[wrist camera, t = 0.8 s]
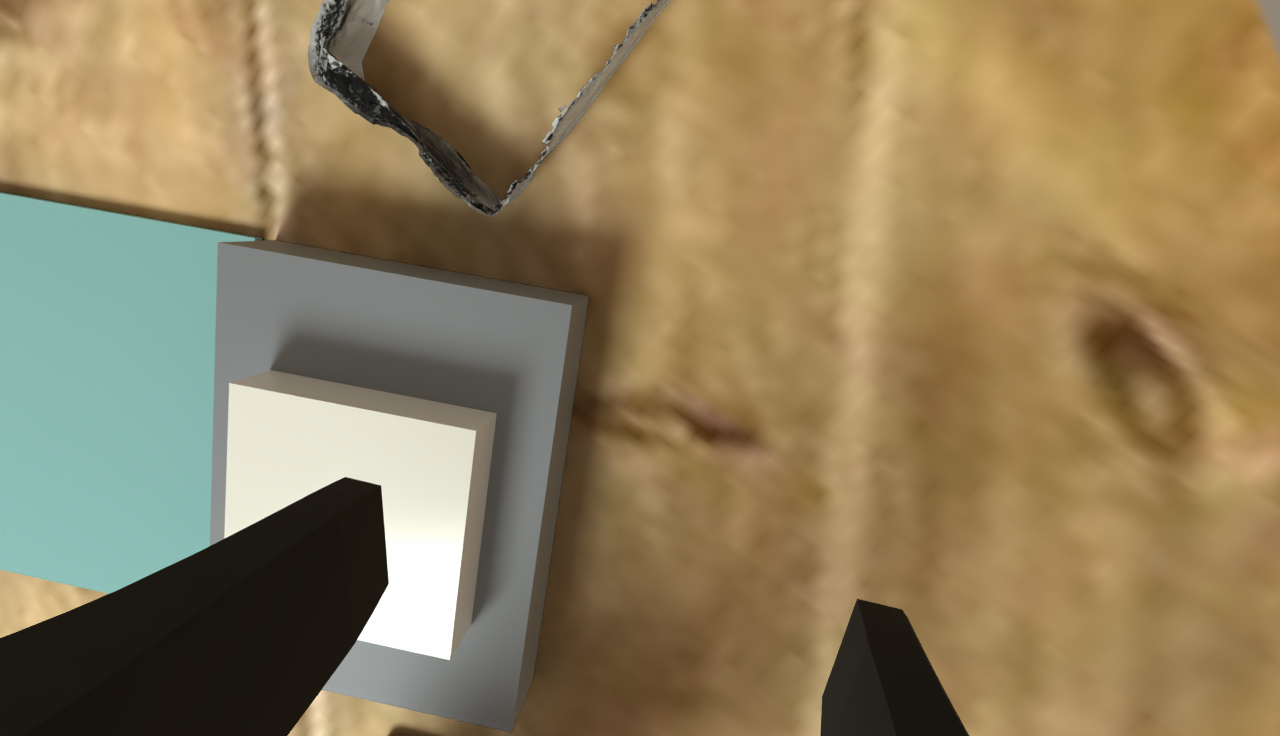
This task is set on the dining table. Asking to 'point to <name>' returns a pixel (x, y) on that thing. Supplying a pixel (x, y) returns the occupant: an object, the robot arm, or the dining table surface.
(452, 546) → the coaster
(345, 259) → the riser
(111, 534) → the drip mat
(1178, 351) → the dining table surface
